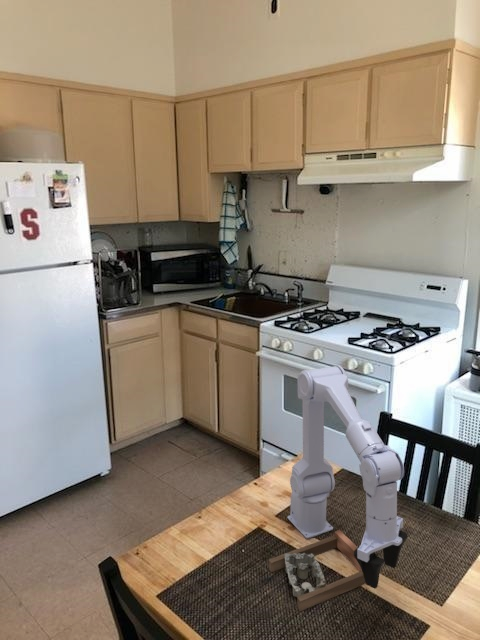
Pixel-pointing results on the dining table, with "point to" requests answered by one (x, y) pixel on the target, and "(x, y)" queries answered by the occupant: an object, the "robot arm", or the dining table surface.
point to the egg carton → (303, 572)
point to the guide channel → (331, 589)
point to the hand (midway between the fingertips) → (381, 575)
